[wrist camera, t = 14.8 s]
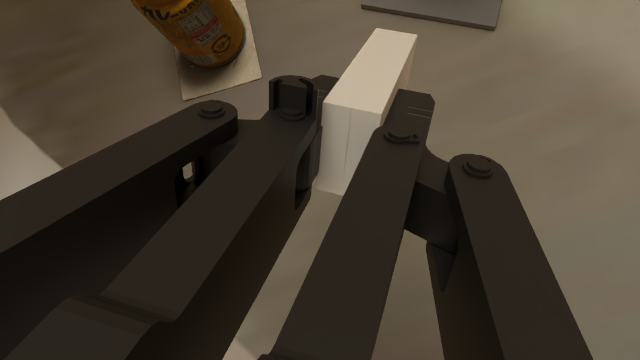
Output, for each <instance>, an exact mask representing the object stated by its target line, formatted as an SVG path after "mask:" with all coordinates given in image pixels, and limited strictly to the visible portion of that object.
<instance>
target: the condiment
mask: <svg viewBox="0 0 640 360" xmlns="http://www.w3.org/2000/svg"><path fill="white" fill-rule="evenodd" d="M131 2H132V3H133V5H134V6H135V7H136V8H137V9H138V10H139V11H140V12H141V13H142V14H143V15H144V16H145V17H146V18H147V20H149V21H150V22H151V23H152V24H153V25H154V26H155V27H156V28H157V29H158V30H159V31H160V32H161V33H162V34H163V35H164V36H165V37H166V38H167V39H168V40H169V41H170V42H171V43H172V44H173V45H174V50H175V55H176V61H177V68H178V73H179V78H180V84H181V92H182V97H183V100H187V99H191V98H196V97H199V96H203V95H206V94H209V93H214V92H217V91H220V90H223V89H227V88H231V87H233V86H236V85H239V84H243V83H247V82H250V81H252V80H256V79H259V78H262V75H261V70H260V66H259V61H258V57H257V53H256V48H255V44H254V39H253V34H252V29H251V25H250V21H249V16H248V12H247V8H246V3H245V0H131ZM236 59H238V61H237V62H235V60H236ZM234 63H236V65H235V67H233V65H234ZM192 65H193V67H191V66H192Z"/></svg>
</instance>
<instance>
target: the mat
mask: <svg viewBox="0 0 640 360" xmlns="http://www.w3.org/2000/svg"><path fill="white" fill-rule="evenodd" d="M501 2H502V0H362V3H361V6H362V8H364V9H370V10H375V11H381V12H387V13H393V14H399V15H405V16H411V17H417V18H423V19H429V20H435V21H440V22H446V23H452V24H458V25H464V26H470V27H476V28H482V29H488V30H494V29H495V26H496V22H497V18H498V14H499V10H500V6H501Z"/></svg>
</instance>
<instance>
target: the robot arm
mask: <svg viewBox="0 0 640 360" xmlns="http://www.w3.org/2000/svg"><path fill="white" fill-rule="evenodd" d="M416 40H417V35H415V34H409V33H403V32H397V31H391V30H385V29H379V28H376V29H375V31H374V32H373V34H372V35H371V36H370V38H369V39H368V40H367V42H366V43H365V45H364V46H363V47H362V49H361V50H360V51H359V53H358V54H357V56H356V57H355V58H354V60H353V61H352V63H351V64H350V65H349V67H348V68H347V69H346V71H345V72H344V74H343V75H342V76H341V78H336V77H331V76H325V75H320V76H318V77H315V78H313V79H309V78H306V77H302V76H294V75H289V76H280V77H276V78H273V79H272V80H270V81H269V110H268V111H267V113H266V114H265V115H264V116H263V117H262V118H261V119H260V120H240V119H238V115H237V109H236V108H235V106H233V105H231V104H229V103H226V102H222V101H219V100H216V101H215V100H208V101H204V102H199V103H196V104H193V105H191V106H189V107H187V108H185V109H183V110H181V111H179V112H177V113H175V114H173V115H171V116H169V117H167V118H165V119H163V120H161V121H159V122H157V123H155V124H153V125H151V126H149V127H147V128H145V129H143V130H141V131H139V132H137V133H135V134H133V135H131V136H129V137H127V138H125V139H123V140H121V141H119V142H117V143H115V144H113V145H111V146H109V147H107V148H105V149H103V150H101V151H99V152H97V153H95V154H93V155H91V156H89V157H87V158H85V159H83V160H81V161H79V162H77V163H75V164H73V165H71V166H69V167H67V168H65V169H63V170H61V171H59V172H57V173H55V174H53V175H51V176H49V177H47V178H45V179H43V180H41V181H39V182H36V183H35V184H32V185H31V186H28V187H27V188H25V189H22V190H20V191H19V192H16V193H14V194H13V195H11V196H8V197H6V198H4V199H2V200H0V360H222V359H223V357H224V355H225V353H226V351H227V350H228V348H229V346H230V344H231V342H232V341H233V339H234V337H235V335H236V333H237V331H238V330H239V328H240V326H241V324H242V322H243V321H244V319H245V317H246V315H247V313H248V311H249V310H250V308H251V306H252V304H253V302H254V300H255V299H256V297H257V295H258V293H259V291H260V289H261V288H262V286H263V284H264V282H265V280H266V279H267V277H268V275H269V273H270V271H271V269H272V268H273V266H274V264H275V262H276V260H277V258H278V257H279V255H280V253H281V251H282V249H283V247H284V246H285V244H286V242H287V240H288V238H289V237H290V235H291V233H292V231H293V229H294V227H295V226H296V224H297V222H298V220H299V218H300V216H301V215H302V213H303V211H304V209H305V207H306V205H307V204H308V202H309V200H310V197H311V188H312V182H313V180H314V179H315V177H316V175H317V181H316V189H318V190H322V191H326V192H330V193H334V194H338V195H342V196H343V198H342V200H341V202H340V204H339V207H338V209H337V211H336V213H335V215H334V217H333V220H332V222H331V224H330V226H329V228H328V230H327V233H326V235H325V237H324V239H323V241H322V243H321V246H320V248H319V250H318V252H317V254H316V256H315V258H314V261H313V263H312V265H311V267H310V269H309V271H308V274H307V276H306V278H305V280H304V282H303V284H302V287H301V289H300V291H299V293H298V295H297V297H296V300H295V302H294V304H293V306H292V308H291V310H290V313H289V315H288V317H287V319H286V321H285V323H284V325H283V328H282V330H281V332H280V334H279V336H278V338H277V341H276V343H275V345H274V347H273V349H272V350H271V352H270V353H269V354H268V355H267V354H262V355H261V356H260V357H259V358H258V359H257V360H371V358H372V354H373V350H374V346H375V342H376V338H377V334H378V330H379V326H380V322H381V319H382V315H383V311H384V307H385V303H386V299H387V295H388V291H389V287H390V283H391V279H392V275H393V271H394V267H395V263H396V260H397V256H398V252H399V248H400V244H401V241H402V237H403V233H404V229H406V230H407V231H409V232H411V233H413V234H415V235H417V236H419V237H421V238H423V239H425V240H427V244H426V253H427V259H428V265H429V270H430V276H431V282H432V288H433V294H434V300H435V306H436V312H437V318H438V324H439V330H440V336H441V342H442V347H443V353H444V359H445V360H593V358H592V356H591V354H590V351H589V349H588V347H587V345H586V343H585V341H584V338H583V336H582V334H581V332H580V330H579V328H578V325H577V323H576V321H575V319H574V317H573V315H572V312H571V310H570V308H569V306H568V304H567V302H566V299H565V297H564V295H563V293H562V291H561V289H560V286H559V284H558V282H557V280H556V278H555V276H554V273H553V271H552V269H551V267H550V265H549V263H548V260H547V258H546V256H545V254H544V252H543V250H542V248H541V245H540V243H539V241H538V239H537V237H536V235H535V232H534V230H533V228H532V226H531V224H530V222H529V219H528V217H527V215H526V213H525V211H524V209H523V206H522V204H521V202H520V200H519V198H518V196H517V193H516V191H515V189H514V187H513V185H512V183H511V180H510V178H509V176H508V174H507V172H506V171H505V169H504V168H503V167H502V166H501V165H500V164H498V163H497V162H495V161H494V160H492V159H490V158H488V157H485V156H482V155H475V154H461V155H458V156H454V157H453V158H452V159H451V160H450V162H449V163H448V162H446V161H444V160H442V159H440V158H438V157H436V156H435V155H433V154H432V153H431V152H430V151H429V150H428V149H427V146H426V139H427V135H428V131H429V127H430V123H431V118H432V114H433V110H434V106H435V101H434V100H433V98H432V96H431V95H430V94H425V93H420V92H415V91H410V90H407V86H408V81H409V76H410V71H411V66H412V61H413V56H414V50H415V45H416ZM190 162H191V165H192V173H193V175H192V176H191V177H189V178H187V179H184V177H183V169H182V168H183V167H184V166H185V165H187V164H188V163H190Z"/></svg>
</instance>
